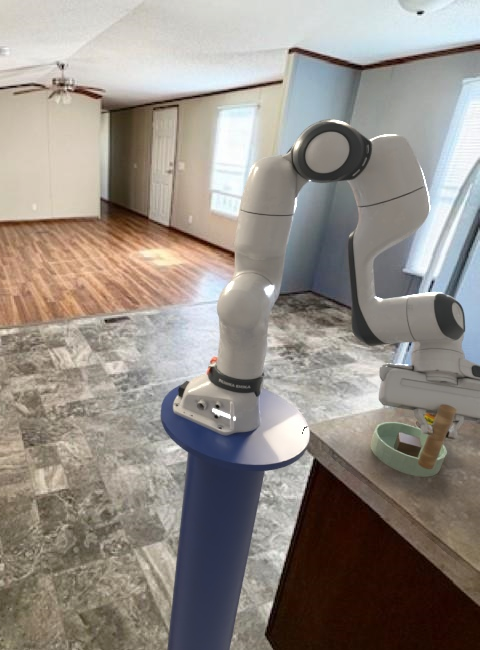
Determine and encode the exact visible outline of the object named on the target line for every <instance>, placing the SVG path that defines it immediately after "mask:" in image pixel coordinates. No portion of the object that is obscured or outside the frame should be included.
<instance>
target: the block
mask: <svg viewBox="0 0 480 650" xmlns="http://www.w3.org/2000/svg"><path fill="white" fill-rule="evenodd" d="M394 449H395V450H397V451H399V452H402V453H404V454H406V455H410V456H413V457H417V458H418V455H419V453H420V450H421V443H420V438H419V437H415V436H412V435H408V434H404V433H400V432H398V435H397V438H396V441H395V444H394Z"/></svg>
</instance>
